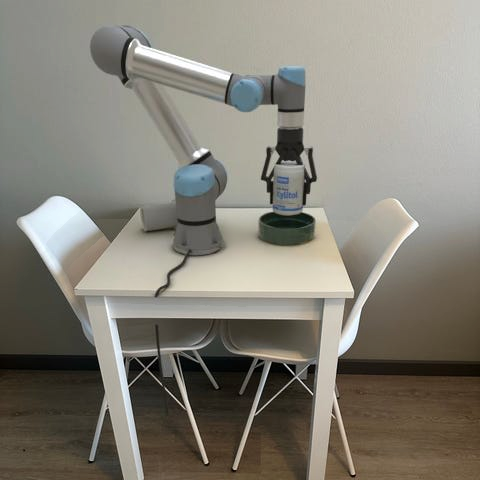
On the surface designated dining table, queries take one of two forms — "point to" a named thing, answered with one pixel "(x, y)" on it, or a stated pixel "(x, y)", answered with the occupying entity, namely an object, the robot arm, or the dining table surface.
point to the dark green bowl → (286, 228)
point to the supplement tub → (288, 188)
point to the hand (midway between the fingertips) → (288, 203)
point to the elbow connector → (159, 216)
